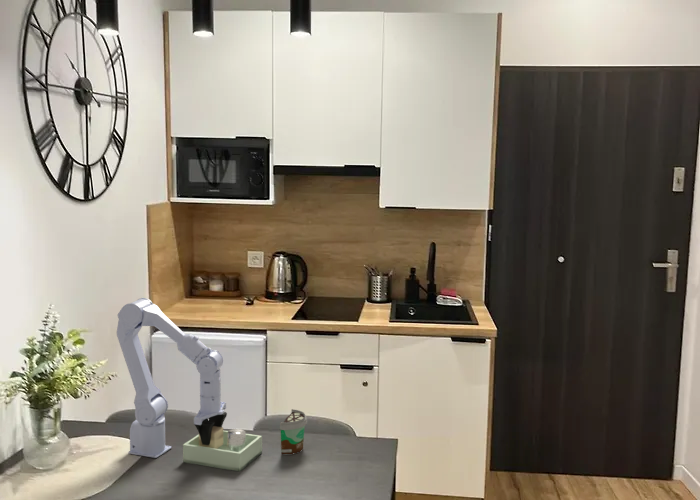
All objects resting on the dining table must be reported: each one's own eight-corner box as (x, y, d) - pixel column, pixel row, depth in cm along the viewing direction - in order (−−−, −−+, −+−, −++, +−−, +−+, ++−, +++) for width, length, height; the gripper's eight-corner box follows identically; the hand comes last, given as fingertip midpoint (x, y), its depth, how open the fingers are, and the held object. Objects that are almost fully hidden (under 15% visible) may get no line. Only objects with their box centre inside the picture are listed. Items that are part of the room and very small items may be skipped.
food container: (300, 458, 196) (300, 424, 195) (279, 456, 198) (279, 422, 197) (311, 442, 208) (312, 410, 207) (291, 440, 210) (292, 408, 209)
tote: (183, 462, 193) (182, 444, 193) (208, 444, 206) (208, 428, 205) (239, 471, 187) (239, 453, 187) (262, 452, 200) (262, 435, 200)
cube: (198, 448, 196) (198, 431, 196) (207, 441, 201) (207, 425, 200) (214, 450, 195) (214, 433, 194) (223, 444, 199) (223, 427, 199)
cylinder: (224, 459, 193) (225, 435, 192) (228, 452, 198) (229, 428, 197) (242, 460, 193) (243, 436, 192) (246, 453, 198) (247, 429, 197)
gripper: (209, 404, 188) (210, 452, 189) (235, 388, 202) (235, 434, 203) (187, 401, 190) (187, 448, 192) (213, 386, 204) (214, 430, 205)
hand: (210, 441), depth 198 cm, fingers closed on cube, 5 cm apart
